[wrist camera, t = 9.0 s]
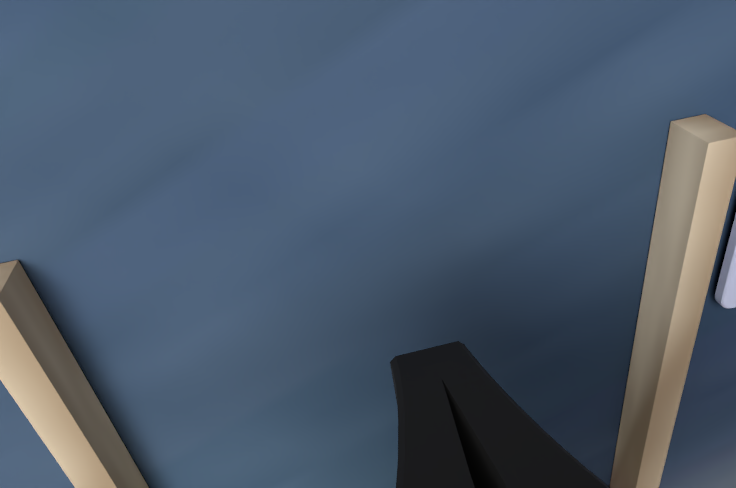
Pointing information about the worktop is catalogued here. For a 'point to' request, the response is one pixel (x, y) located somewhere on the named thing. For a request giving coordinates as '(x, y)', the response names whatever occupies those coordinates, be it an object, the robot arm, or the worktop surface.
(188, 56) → the worktop surface
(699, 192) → the bay
